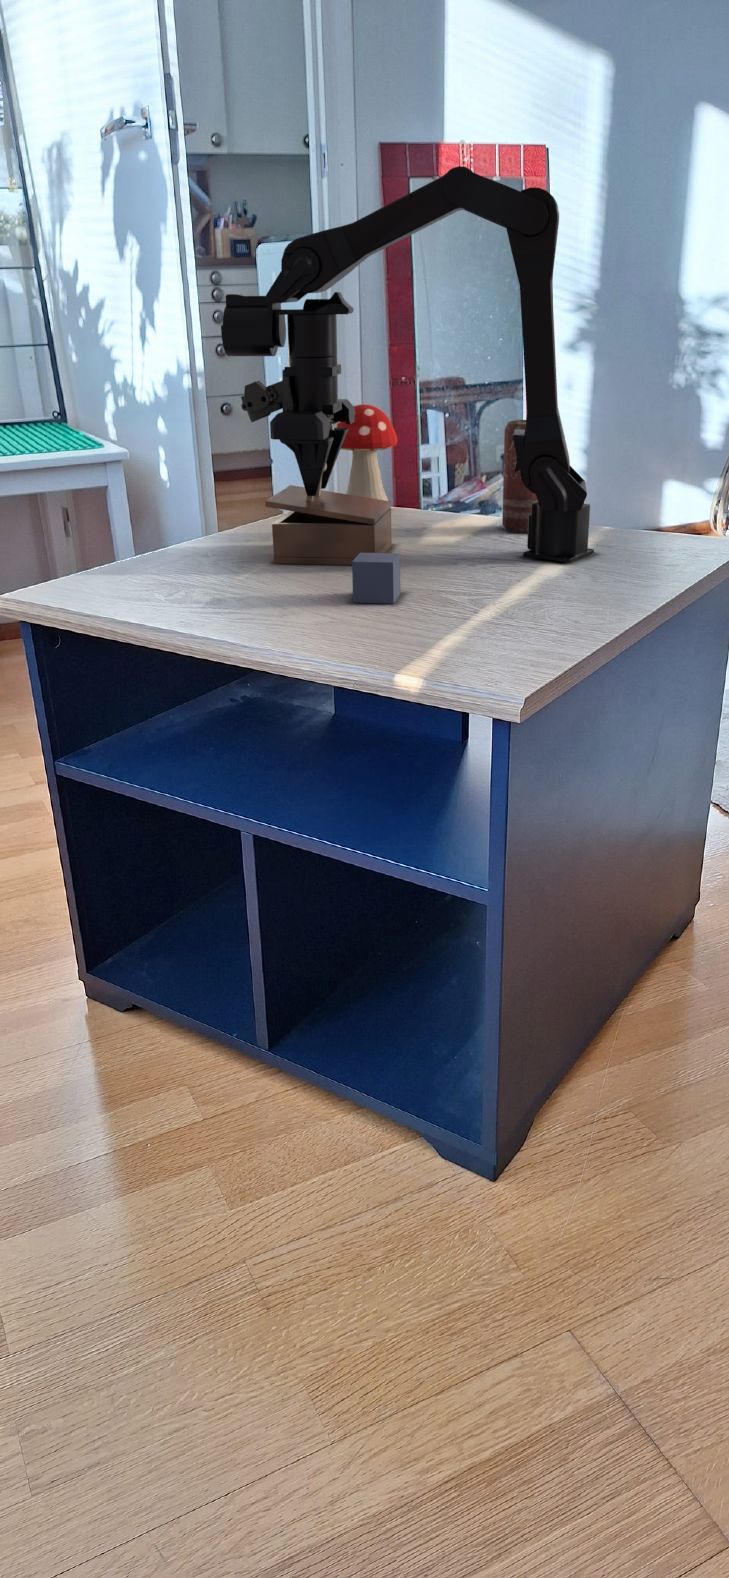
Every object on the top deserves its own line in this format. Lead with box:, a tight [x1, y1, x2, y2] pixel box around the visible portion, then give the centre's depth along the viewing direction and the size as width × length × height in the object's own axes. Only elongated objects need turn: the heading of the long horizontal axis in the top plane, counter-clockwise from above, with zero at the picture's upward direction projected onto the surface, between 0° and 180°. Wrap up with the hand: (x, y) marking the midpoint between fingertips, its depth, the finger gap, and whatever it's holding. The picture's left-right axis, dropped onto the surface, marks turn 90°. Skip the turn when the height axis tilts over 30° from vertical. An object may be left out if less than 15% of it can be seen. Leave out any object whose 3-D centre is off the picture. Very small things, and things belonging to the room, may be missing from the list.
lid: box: [264, 463, 392, 525], centre depth 137 cm, size 13×12×5 cm
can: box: [501, 419, 538, 534], centre depth 148 cm, size 6×6×14 cm
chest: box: [271, 507, 393, 566], centre depth 139 cm, size 13×12×5 cm
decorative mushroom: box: [337, 403, 398, 501], centre depth 164 cm, size 10×9×15 cm
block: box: [351, 552, 402, 605], centre depth 119 cm, size 4×4×4 cm
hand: (316, 492), depth 137 cm, fingers closed on lid, 5 cm apart
